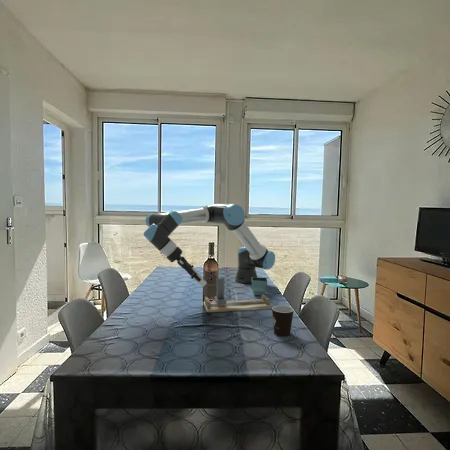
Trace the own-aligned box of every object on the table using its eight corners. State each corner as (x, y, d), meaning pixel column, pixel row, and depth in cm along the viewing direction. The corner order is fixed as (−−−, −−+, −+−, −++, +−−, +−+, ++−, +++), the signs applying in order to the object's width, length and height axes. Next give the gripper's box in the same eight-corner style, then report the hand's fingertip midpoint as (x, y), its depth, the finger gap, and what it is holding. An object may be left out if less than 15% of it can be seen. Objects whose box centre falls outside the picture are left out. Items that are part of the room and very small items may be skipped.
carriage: (214, 300, 163) (215, 276, 162) (223, 299, 164) (223, 276, 163) (217, 304, 156) (218, 280, 155) (226, 304, 157) (226, 279, 156)
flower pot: (266, 292, 189) (266, 277, 188) (266, 297, 180) (267, 281, 179) (251, 291, 190) (251, 276, 189) (251, 296, 181) (251, 280, 180)
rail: (203, 304, 165) (203, 296, 164) (263, 301, 172) (263, 293, 171) (207, 312, 153) (207, 303, 153) (271, 308, 160) (271, 300, 160)
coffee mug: (293, 338, 125) (293, 313, 124) (270, 336, 127) (271, 311, 126) (292, 327, 136) (293, 304, 135) (272, 325, 138) (272, 302, 137)
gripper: (164, 252, 164) (193, 280, 169) (167, 261, 140) (200, 294, 145) (175, 242, 165) (203, 270, 170) (179, 249, 141) (212, 282, 145)
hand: (202, 281), depth 157 cm, fingers open, 13 cm apart
